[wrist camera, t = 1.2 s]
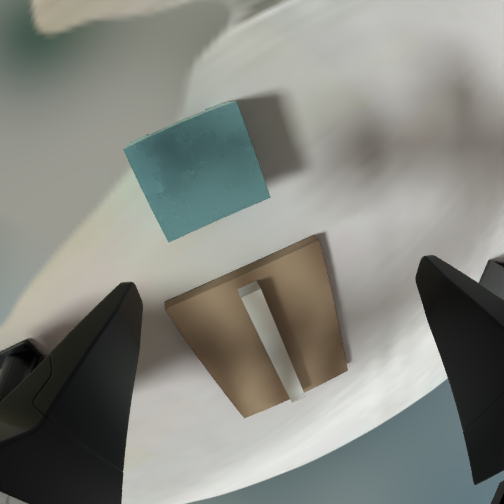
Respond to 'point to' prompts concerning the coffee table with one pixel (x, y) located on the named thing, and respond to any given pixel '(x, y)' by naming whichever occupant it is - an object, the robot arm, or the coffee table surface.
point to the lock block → (198, 170)
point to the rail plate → (265, 328)
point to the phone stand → (494, 278)
